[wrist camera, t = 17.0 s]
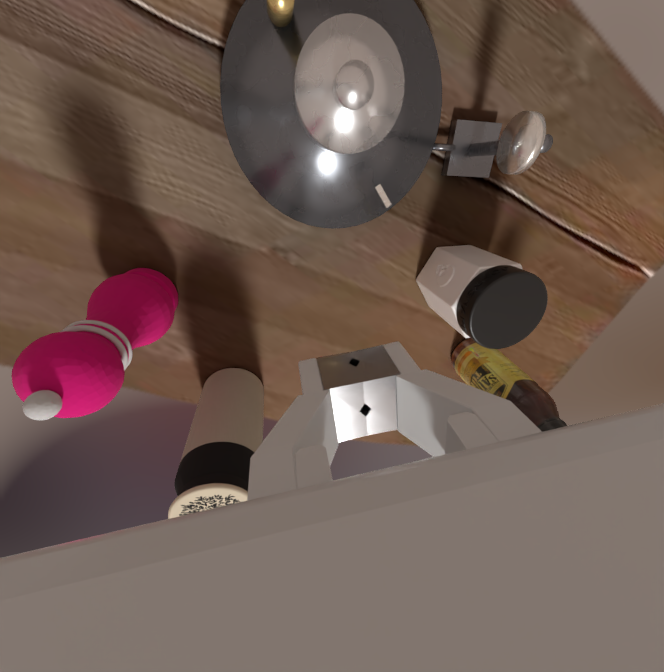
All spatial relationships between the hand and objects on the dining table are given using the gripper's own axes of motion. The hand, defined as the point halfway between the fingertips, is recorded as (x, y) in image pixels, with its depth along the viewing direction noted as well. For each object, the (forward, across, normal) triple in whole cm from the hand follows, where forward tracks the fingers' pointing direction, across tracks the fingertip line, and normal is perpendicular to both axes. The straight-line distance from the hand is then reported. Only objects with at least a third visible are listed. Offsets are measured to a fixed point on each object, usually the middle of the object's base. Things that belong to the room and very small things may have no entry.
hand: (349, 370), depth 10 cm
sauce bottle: (+29, -22, +22) cm, 43 cm away
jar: (+29, -19, +9) cm, 36 cm away
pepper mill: (+29, +17, +5) cm, 34 cm away
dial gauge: (+29, -19, -5) cm, 35 cm away
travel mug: (+29, +12, +20) cm, 38 cm away
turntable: (+29, -6, -9) cm, 31 cm away
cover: (+26, -6, -10) cm, 29 cm away
